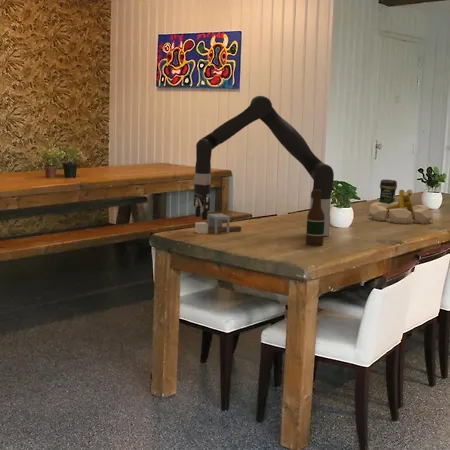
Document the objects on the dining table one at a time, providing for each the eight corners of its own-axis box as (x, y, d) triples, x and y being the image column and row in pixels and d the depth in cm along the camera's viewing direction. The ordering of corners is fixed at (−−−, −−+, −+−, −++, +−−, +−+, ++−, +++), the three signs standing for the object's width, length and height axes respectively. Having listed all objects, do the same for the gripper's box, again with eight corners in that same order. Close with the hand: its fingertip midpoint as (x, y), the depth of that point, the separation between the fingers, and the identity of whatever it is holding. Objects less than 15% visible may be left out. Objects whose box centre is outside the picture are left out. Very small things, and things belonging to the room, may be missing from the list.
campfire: (435, 226, 355) (438, 194, 352) (369, 222, 360) (371, 190, 357) (427, 216, 389) (429, 186, 386) (366, 213, 394) (368, 183, 391)
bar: (241, 232, 320) (241, 226, 320) (207, 233, 313) (207, 228, 313) (238, 231, 322) (238, 225, 322) (205, 232, 315) (205, 227, 315)
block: (207, 233, 313) (208, 223, 312) (198, 233, 311) (198, 224, 310) (204, 231, 317) (204, 222, 316) (195, 232, 315) (195, 222, 314)
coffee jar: (376, 210, 403) (378, 179, 400) (380, 209, 409) (382, 178, 406) (392, 212, 398) (394, 180, 395) (396, 210, 405) (398, 179, 401)
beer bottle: (302, 242, 298) (305, 188, 294) (317, 242, 301) (321, 188, 297) (310, 246, 291) (313, 190, 287) (326, 245, 294) (330, 190, 290)
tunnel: (229, 233, 315) (229, 216, 313) (215, 233, 312) (215, 217, 310) (221, 229, 323) (221, 213, 322) (207, 230, 321) (207, 213, 319)
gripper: (189, 181, 315) (188, 215, 318) (200, 185, 303) (198, 221, 305) (204, 181, 318) (203, 215, 321) (216, 184, 305) (214, 220, 308)
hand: (201, 218), depth 313 cm, fingers open, 8 cm apart
